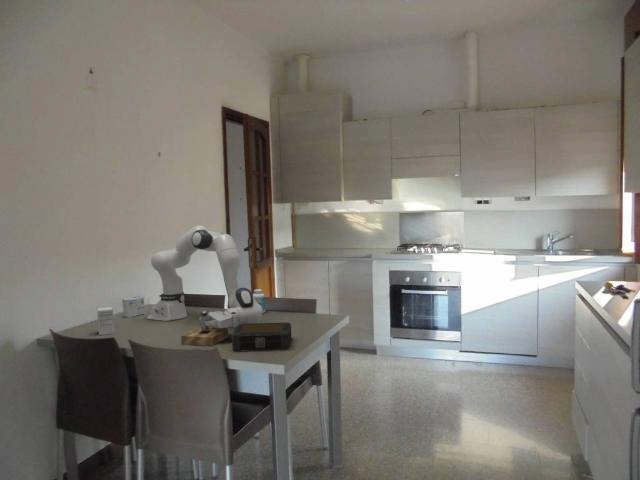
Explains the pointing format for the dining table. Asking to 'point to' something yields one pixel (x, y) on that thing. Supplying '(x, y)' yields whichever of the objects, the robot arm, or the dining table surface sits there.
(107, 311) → the supplement box
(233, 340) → the cash box
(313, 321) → the dining table surface
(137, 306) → the light bulb box
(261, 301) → the pill bottle
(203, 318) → the steel pin
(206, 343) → the block
